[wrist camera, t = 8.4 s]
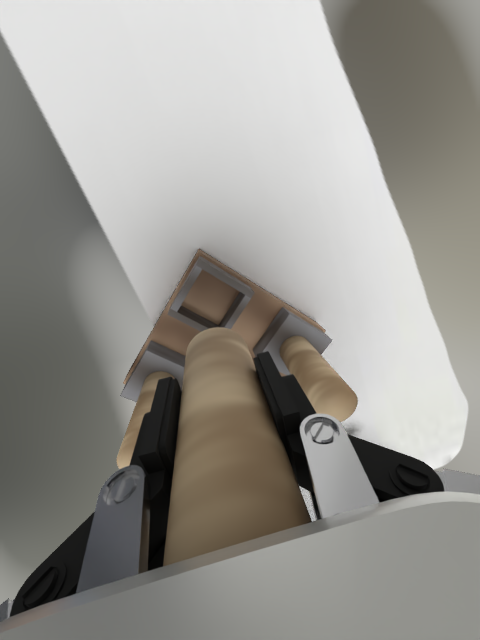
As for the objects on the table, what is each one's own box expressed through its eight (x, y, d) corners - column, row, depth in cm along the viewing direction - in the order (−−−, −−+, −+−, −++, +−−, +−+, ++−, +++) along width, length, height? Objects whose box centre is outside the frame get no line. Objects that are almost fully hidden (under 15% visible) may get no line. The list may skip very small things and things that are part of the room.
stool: (243, 417, 38) (267, 528, 24) (129, 369, 33) (76, 478, 19) (315, 321, 34) (394, 390, 20) (198, 248, 28) (196, 273, 14)
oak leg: (260, 344, 15) (447, 740, 4) (227, 390, 15) (295, 821, 4) (206, 316, 13) (232, 767, 2) (174, 367, 14) (85, 871, 3)
